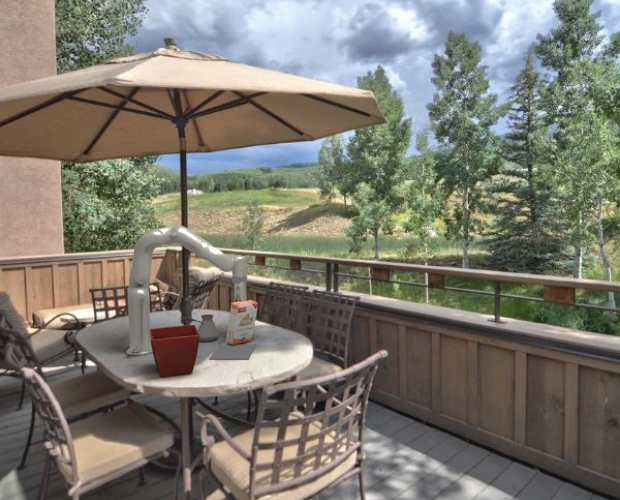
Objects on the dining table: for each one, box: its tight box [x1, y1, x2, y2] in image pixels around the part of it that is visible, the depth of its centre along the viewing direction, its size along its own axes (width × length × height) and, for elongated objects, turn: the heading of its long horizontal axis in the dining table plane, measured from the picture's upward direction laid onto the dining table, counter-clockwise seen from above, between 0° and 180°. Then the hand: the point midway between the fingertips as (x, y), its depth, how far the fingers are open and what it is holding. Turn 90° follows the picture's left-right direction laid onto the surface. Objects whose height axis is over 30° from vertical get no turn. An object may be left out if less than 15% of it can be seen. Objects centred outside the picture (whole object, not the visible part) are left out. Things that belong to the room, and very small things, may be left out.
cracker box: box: [225, 299, 259, 345], centre depth 224 cm, size 14×6×21 cm, turn 143°
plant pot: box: [150, 324, 200, 378], centre depth 185 cm, size 19×19×17 cm
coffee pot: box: [179, 314, 219, 343], centre depth 227 cm, size 21×12×15 cm, turn 136°
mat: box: [208, 343, 256, 361], centre depth 211 cm, size 22×18×1 cm
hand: (240, 314), depth 228 cm, fingers closed
